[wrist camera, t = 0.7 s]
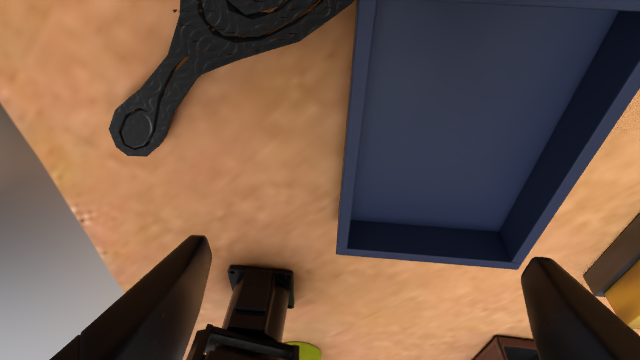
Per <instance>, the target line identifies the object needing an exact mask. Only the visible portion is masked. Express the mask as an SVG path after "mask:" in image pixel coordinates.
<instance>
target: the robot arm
mask: <svg viewBox="0 0 640 360" xmlns="http://www.w3.org/2000/svg"><path fill="white" fill-rule="evenodd" d="M211 262H212V253H211V249H210V246H209V243H208V240H207V238H206V237H205V236H203V235H191V236H189V237H188V238H187V239H186V240H185V241H183V242H182V243H181V244H180V245H179V246H178V247H177V248H176V249H174V250H173V251H172V252H171V253H170V254H169V255H168V256H167V257H165V258H164V259H163V260H162V261H161V262H160V263H159V264H158V265H156V266H155V267H154V268H153V269H152V270H151V271H150V272H149V273H147V274H146V275H145V276H144V277H143V278H142V279H141V280H140V281H138V282H137V283H136V284H135V285H134V286H133V287H132V288H131V289H129V290H128V291H127V292H126V293H125V294H124V295H123V296H122V297H120V299H118V300H117V301H116V302H115V303H114V304H112V305H111V306H110V307H109V308H108V309H107V310H106V311H105V312H103V313H102V314H101V315H100V316H99V317H98V318H97V319H96V320H95V321H94V322H92V323H91V324H90V325H89V326H88V327H87V328H85V329H84V330H83V331H82V332H81V335H78V336H76V337H75V338H74V339H73V340H72V341H71V342H70V343H68V344H67V345H66V346H65V347H64V348H63V349H62V350H60V351H59V352H58V353H57V354H56V355H55V356H53V357H52V358H51V359H50V360H182V359H183V356H184V354H185V351H186V348H187V345H188V342H189V340H190V337H191V334H192V331H193V329H194V326H195V323H196V320H197V317H198V314H199V311H200V307H201V304H202V299H203V295H204V291H205V287H206V283H207V278H208V274H209V270H210V266H211ZM228 275H229V279H230V283H231V287H232V291H233V293H232V296H231V300H230V303H229V306H228V309H227V313H226V316H225V319H224V322H223V326H222V328H219V327H215V326H213V325H211V324H207V326H206V329H204V330H199V331H197V333H196V336H195V339H194V341H193V344H192V347H191V349H190V352H189V354H188V357H187V359H186V360H299V345H295V344H294V345H290V344H286V343H282V336H283V330H284V324H285V318H286V312H287V308H288V309H292V308H294V304H295V301H294V278H293V273H292V272H291V271H286V270H275V269H263V268H252V267H240V266H230V267H229V269H228ZM521 284H522V289H523V294H524V299H525V303H526V308H527V313H528V318H529V322H530V327H531V331H532V335H533V339H534V342H535V346H536V349H537V352H538V355H539V358H540V360H640V336H639V335H638V334H637V333H636V332H635V331H634V330H632V329H631V328H630V327H629V326H628V325H627V324H626V323H624V322H623V321H622V320H621V319H620V318H619V317H618V316H616V315H615V314H614V313H613V312H612V311H611V310H610V309H609V308H607V307H606V306H605V305H604V304H603V303H602V302H601V301H599V300H598V299H597V298H596V297H595V296H594V295H593V294H591V293H590V292H589V291H588V290H587V289H586V288H585V287H584V286H582V285H581V284H580V283H579V282H578V281H577V280H576V279H574V278H573V277H572V276H571V275H570V274H569V273H568V272H566V271H565V270H564V269H563V268H562V267H561V266H560V265H559V264H557V263H556V262H555V261H554V260H552V259H551V258H546V257H534V258H532V259H531V261H530V262H529V264H528V265H527V267H526V269H525V270H524V272H523V273H522V276H521ZM205 353H206V355H204V354H205Z"/></svg>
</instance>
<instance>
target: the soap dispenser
mask: <svg viewBox="0 0 640 360" xmlns="http://www.w3.org/2000/svg"><path fill="white" fill-rule="evenodd" d="M286 344H290V345H294V344H295V345H299V360H321V351H320V350H319V349H318V348H316V347H315V346H313V345H310V344H307V343H302V342H288V343H286Z"/></svg>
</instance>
